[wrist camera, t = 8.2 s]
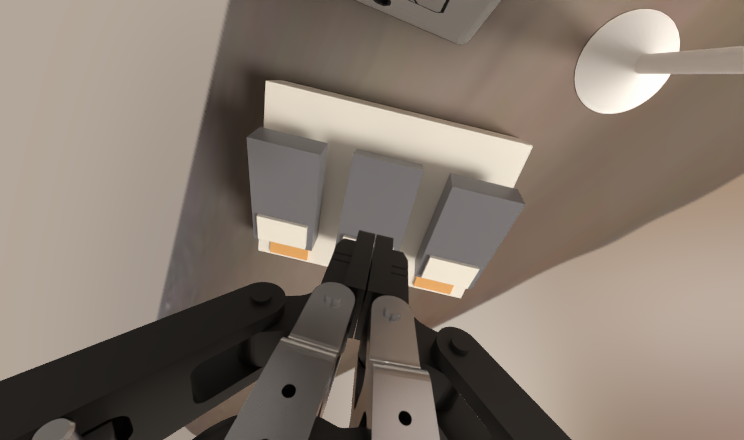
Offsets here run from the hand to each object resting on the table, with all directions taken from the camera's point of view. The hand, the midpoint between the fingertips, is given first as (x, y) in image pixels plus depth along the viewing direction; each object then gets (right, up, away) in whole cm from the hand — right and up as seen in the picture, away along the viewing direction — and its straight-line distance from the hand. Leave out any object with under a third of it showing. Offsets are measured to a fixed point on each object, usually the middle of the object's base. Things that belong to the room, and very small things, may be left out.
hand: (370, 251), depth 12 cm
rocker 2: (+7, 0, +10) cm, 13 cm away
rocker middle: (0, +2, +11) cm, 11 cm away
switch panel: (+1, +4, +15) cm, 15 cm away
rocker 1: (-7, +3, +10) cm, 13 cm away
